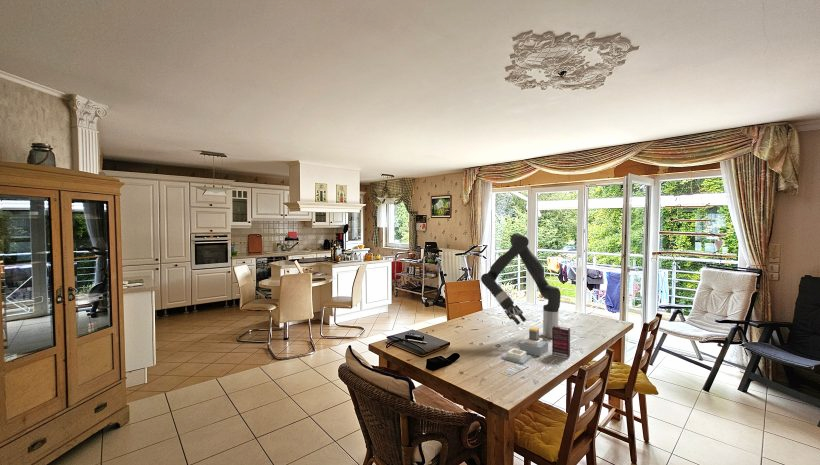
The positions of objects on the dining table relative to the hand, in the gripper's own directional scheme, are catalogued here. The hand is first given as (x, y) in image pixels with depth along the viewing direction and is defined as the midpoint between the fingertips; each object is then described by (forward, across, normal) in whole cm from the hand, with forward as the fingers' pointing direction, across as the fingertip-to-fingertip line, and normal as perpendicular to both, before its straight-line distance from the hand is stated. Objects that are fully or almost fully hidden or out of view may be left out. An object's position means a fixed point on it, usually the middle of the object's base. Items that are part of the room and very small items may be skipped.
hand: (522, 322), depth 197 cm
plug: (+12, 0, +2) cm, 12 cm away
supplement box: (+26, +3, -4) cm, 26 cm away
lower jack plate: (+14, -17, +8) cm, 23 cm away
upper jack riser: (+16, 0, +6) cm, 17 cm away
